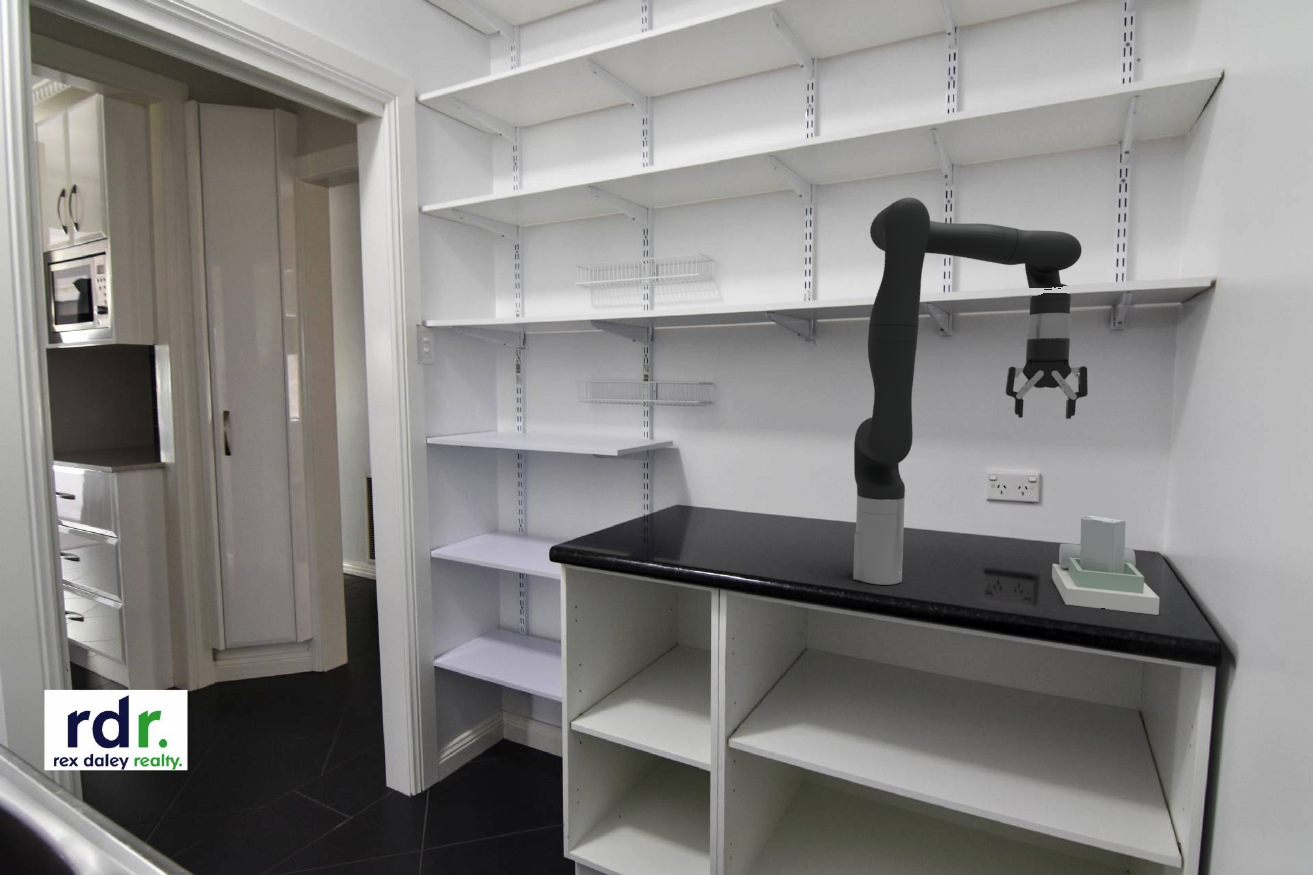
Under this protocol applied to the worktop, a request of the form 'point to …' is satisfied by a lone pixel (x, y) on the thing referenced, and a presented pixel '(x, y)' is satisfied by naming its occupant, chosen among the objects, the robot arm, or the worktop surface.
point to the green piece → (1107, 578)
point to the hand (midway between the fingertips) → (1044, 418)
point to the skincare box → (1102, 544)
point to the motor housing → (1100, 597)
